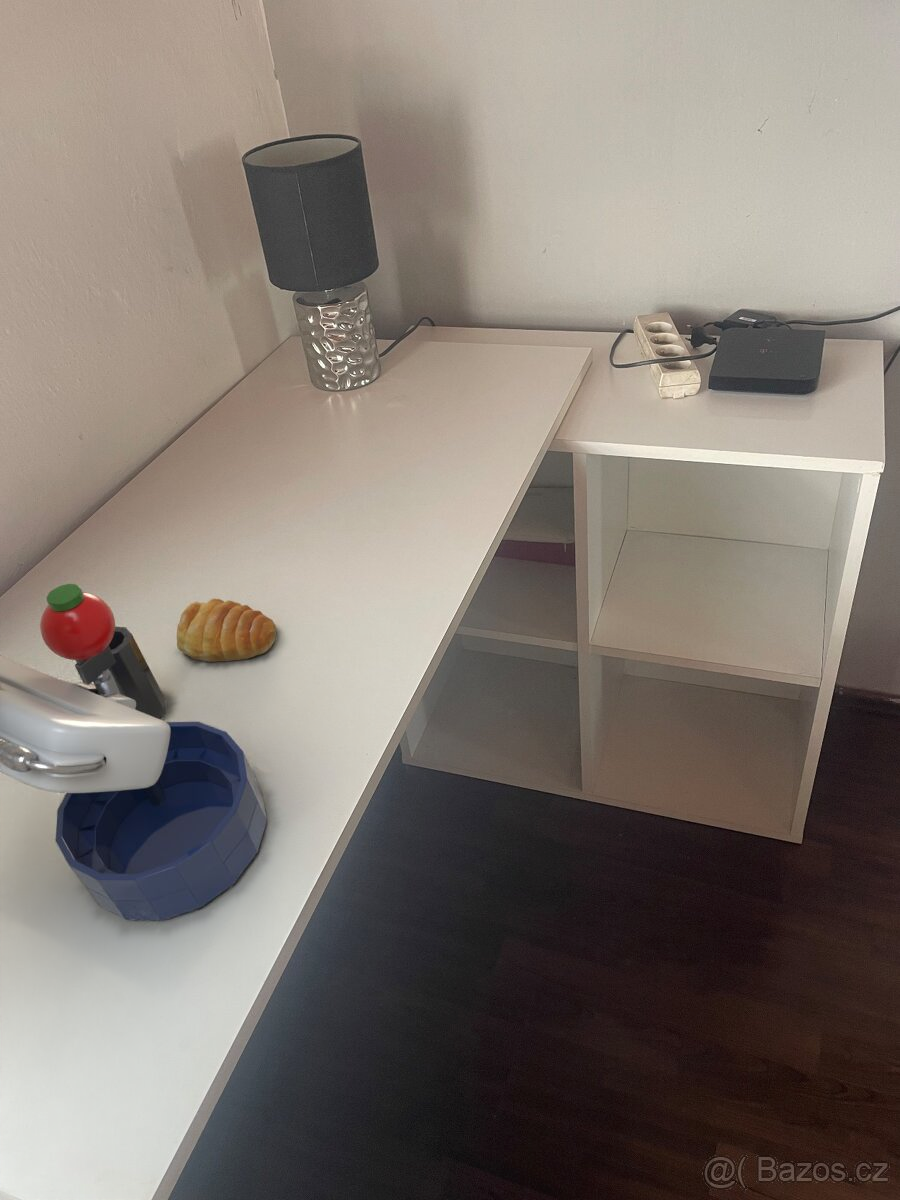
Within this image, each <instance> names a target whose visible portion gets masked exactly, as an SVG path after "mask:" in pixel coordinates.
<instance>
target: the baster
mask: <svg viewBox="0 0 900 1200" xmlns="http://www.w3.org/2000/svg"><path fill="white" fill-rule="evenodd" d="M46 602H47V604H48V605H47V606H46V608H45V609H44V610H43V613H42V615H41V618H40V633H41V637H42V640H43V642H44V643H45V645H46V646H47V647H48V649H49V651H51V652H52V653H54V654H55V655H56V656H59V657H61V658H63V659H65V660H70V661H75V662H76V663H75V664H74V667H75V669H76V671H77V674H78V676H79V678H80V680H81V682H83V683H84V684H86V685H89V684H90V683H93V684H94V685H95V687H96V689H97V691H98V694H99V695H101V694H107V693H109V694H117V693H118V694H120V692H119V689H118V687H117V685H116V683H115V681H114V678H113V676H112V674H111V672H110V671H109V670H108V668H109V667H111V666H112V665H113V664H114V663H115V662H116V661H115V659H114V656H113V654H112V652H111V650H110V647H109V644H110V642H111V640H112V638H113V636H114V632H115V626H116V620H115V617H114V613H113V610H112V609H111V608H110V606H109V605H108V603H107V602H105V601H104V600H103V599H102V598H101V597H99V596H97V595H95V594H93V593H90V592H87V591H83V590H82V588H81V586H80V585H78V584H76V583H66V584H62V585H59V586H57V587H55V588H54V589H52V590H50V592H48V593H47V596H46ZM143 789H144V791H145V793H146V796H147V798H148V800H149V802H150V803H151V804H152V805H153V806H161V805H162V804H164V802H165V801H166V794H165V792H164V790H163V787H162V785H161V783H160V781H159V779H158V780H157V782H156V783H155V784H154V785H152V786H150V787H147V788H143Z"/></svg>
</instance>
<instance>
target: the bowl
mask: <svg viewBox="0 0 900 1200" xmlns="http://www.w3.org/2000/svg"><path fill="white" fill-rule="evenodd" d="M165 722H166V723H168V724H169V726H170V730H171V732H170V741H169V746H168V751H167V756H166V760H165V763H164V766H163V770H162V772H161V775H160V777H159V781H160V783H161V785H162V787H163V790H164V792H165V794H166V801H165V802H164V804H162V805H161V806H153V805H152V804H151V803H150V802H149V800H148V798H147V796H146V793H145V791H144V789H143V788H142V789H132V790H121V791H107V792H91V793H64V796H63V797H62V800H61V802H60V804H59V806H58V807H57V810H56V822H55V823H56V824H55V825H56V826H55V843H56V845H57V847H58V848H59V850H60V852H61V854H62V856H63V858H64V860H65V861H66V863H67V865H68V867H70V870H72V871H73V873H74V874H75V875H76V877H77V878H78V879H79V882H81V884H82V885H83V886H84V888H86V890H87V891H88V893H89V894H90V896H91V897H92V898H93V899H94V900H95V902H96V903H97V904H98V905H99V906H100V907H102V908H104V909H106V910H107V911H109V912H111V913H113V914H114V915H117V916H119V917H121V918H122V919H125V920H129V921H130V920H133V921H134V920H136V921H165V920H168V919H171V918H174V917H177V916H180V915H182V914H186V913H188V912H192V911H195V910H197V909H200V908H202V907H204V906H205V905H206V904H208V903H209V902H211V901H212V900H214V899H215V898H216V897H218V896H219V895H221V894H222V893H223V892H224V891H226V890H227V889H229V888H230V887H232V886H233V885H234V884H235V883H236V882H237V880H238V879H239V878H240V876H241V875H242V874H243V872H244V871H245V870H246V868H247V867H248V866H249V865H250V863H251V862H252V861H253V859H254V858H255V857H256V855H257V854H258V852H259V848H260V845H261V842H262V839H263V836H264V832H265V828H266V825H267V820H268V819H267V814H266V807H265V802H264V796H263V791H262V790H261V788H260V786H259V783H258V781H257V779H256V777H255V774H254V772H253V770H252V768H251V766H250V764H249V761H248V759H247V757H246V755H245V752H244V750H243V749H242V748H241V747H240V746H239V745H238V743H237V742H236V741H235V740H234V739H233V738H232V737H231V736H230V734H229V733H228V732H227V731H226V730H223V729H220V728H217V727H215V726H212V725H209V724H207V723H204V722H202V721H165Z"/></svg>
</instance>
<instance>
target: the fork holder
mask: <svg viewBox="0 0 900 1200" xmlns="http://www.w3.org/2000/svg"><path fill="white" fill-rule="evenodd" d="M109 647H110V650H111V652H112V654H113V656H114V659H115V661H116V662H115V663H114V664H113V665H112V666H111V667H109V668H108V670H109V671H110V672H111V674H112V676H113V678H114V681H115V683H116V685H117V687H118V689H119V692H120V694H121V695H123V696H126V697H129V698H131V699H133V700H135V701H136V708H135V710H138V711H140V712H143V713H145V714H148V715H150V716H153V717H155V718H158V719H161V720H162V718H163V717H164V716H165V714H166V712H167V709H168V703H167V701H166V698H165V695H164V694H163V691H162V690H161V688H160V686H159V684H158V682H157V680H156V679H155V676H154V674H153V672H152V670H151V669H150V667H149V664H148V662H147V661H146V659H145V657H144V654H143V652H142V651H141V649H140V646H139V645H138V643H137V642H136V639H135V637H134V635H133V633H132V632H131V630H130V629H128V627H125V626H117V625H115V632H114V636H113V638H112V640H111V642H110V644H109Z"/></svg>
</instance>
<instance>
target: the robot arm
mask: <svg viewBox="0 0 900 1200" xmlns="http://www.w3.org/2000/svg"><path fill="white" fill-rule="evenodd" d="M135 708H136V701H135V700H133V699H131V698H129V697H126V696H123V695H121V694H118V693H117V694H109V693H107V694H101V695H99V694H98V691H97V689H96V687H95V685H94V683H93V682H92V683H90V684H89V685H86V684H84V683H83V682H82V681H75V682H74V681H70V680H65V679H61V678H58V677H54V676H52V675H50V674H48V673H46V672H43V671H40V670H38V669H35V668H32V667H30V666H28V665H25V664H23V663H20V662H18V661H15V660H13V659H10V658H8V657H5V656H2V655H0V773H1V774H4V775H6V776H8V777H9V778H11V779H14V780H16V781H17V782H18V781H19V782H20V783H22V784H25V785H27V786H29V787H32V788H34V789H38V790H42V791H46V792H53V793H60V794H66V793H91V792H107V791H121V790H132V789H142V788H147V787H150V786H152V785H154V784H155V783H156V782H157V780H158V779H159V777H160V775H161V772H162V770H163V766H164V763H165V760H166V756H167V751H168V746H169V741H170V732H171V730H170V726H169V724H168V723H166V722H167V721H164V720H163V719H162V718H161V719H158V718H155V717H153V716H150V715H148V714H145V713H143V712H140V711H138V710H135Z"/></svg>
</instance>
